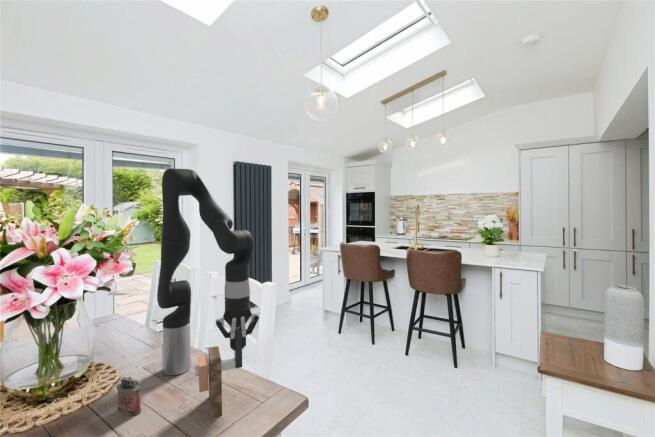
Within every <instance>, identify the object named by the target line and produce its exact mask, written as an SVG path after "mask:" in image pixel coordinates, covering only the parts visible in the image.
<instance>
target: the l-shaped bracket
mask: <svg viewBox="0 0 655 437" xmlns="http://www.w3.org/2000/svg"><path fill="white" fill-rule="evenodd" d="M234 337H235V350H233V358H229V359H223V360H221V371H222V372H224V371H229V370H234V369H239V368H243V349H242V329H241V327H240V326H238V327H235V336H234ZM194 373H195V374H194V375H195V377H199V364H196V365H195V366H194ZM209 374H210V364H209V362H208V375H209Z"/></svg>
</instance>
